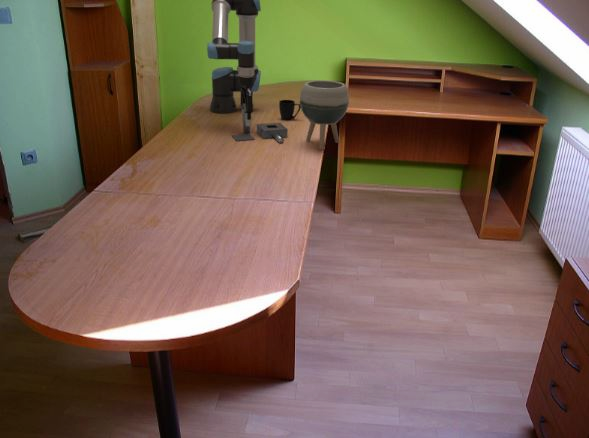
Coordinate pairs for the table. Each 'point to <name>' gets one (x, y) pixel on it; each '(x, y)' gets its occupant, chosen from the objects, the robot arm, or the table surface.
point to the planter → (324, 106)
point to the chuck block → (272, 131)
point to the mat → (242, 137)
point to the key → (245, 128)
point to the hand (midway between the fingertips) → (246, 123)
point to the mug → (287, 109)
